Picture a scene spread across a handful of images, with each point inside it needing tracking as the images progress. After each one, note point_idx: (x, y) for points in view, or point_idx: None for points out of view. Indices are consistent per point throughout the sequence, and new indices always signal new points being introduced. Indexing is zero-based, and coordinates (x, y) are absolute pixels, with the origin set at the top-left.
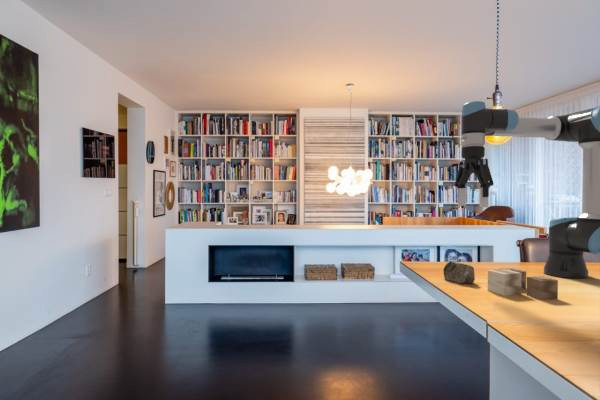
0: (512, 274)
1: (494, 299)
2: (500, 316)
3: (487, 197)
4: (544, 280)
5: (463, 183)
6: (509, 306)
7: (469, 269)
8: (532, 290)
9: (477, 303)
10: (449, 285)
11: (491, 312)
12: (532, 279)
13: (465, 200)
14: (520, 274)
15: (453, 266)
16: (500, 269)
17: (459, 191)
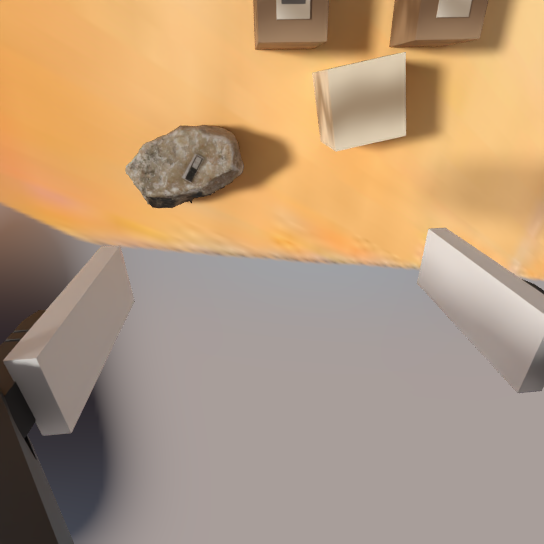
0: (404, 98)
1: (403, 178)
2: (504, 239)
3: (493, 269)
4: (483, 18)
5: (35, 465)
6: (461, 180)
7: (238, 162)
8: (424, 44)
9: (419, 236)
10: (247, 218)
11: (479, 242)
12: (442, 40)
13: (103, 273)
14: (403, 58)
15: (189, 196)
16: (331, 92)
17: (86, 397)
